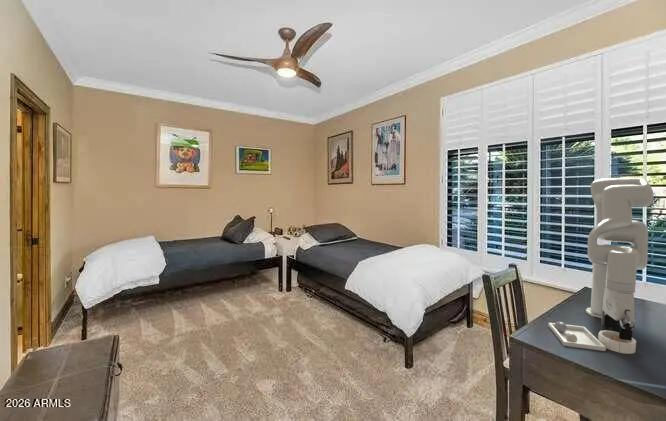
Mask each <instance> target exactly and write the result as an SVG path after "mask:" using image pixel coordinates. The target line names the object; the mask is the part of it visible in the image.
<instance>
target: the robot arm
mask: <svg viewBox="0 0 666 421" xmlns="http://www.w3.org/2000/svg"><path fill="white" fill-rule="evenodd" d="M590 194H591V197H592V201H593V203H594V206H595V208H596V225H595V226H594V227H593V228H592V230H591V231H590V232H589V234H588V237H587V258H588V260H589V262H590V263H592V264H591V265H592V278H591V295H590V307H587V308H586V309H585V312H586V314H587V315H588V316H590V317H595V318H599V319H600V320H602V311H604V315H606V316H605V317H604V326H605V327H614V328H615V326H616V320H619V321H620V325H621V327H620V330H619V338H620V339H621V340H629V341H631V340H632V338H633V330H634V329H635V324H636V323H637V320H636V318H635V293H636V285H637V284H636V281H637V271H638V270H640V271H641V270H644V269H646V267H647V265H648V256H649V255H648V252H649V251H648V249H649V248H648V247H649V244H648V243H649V240H648V239H649V232H648V227H647V225H646V224H645V222H643V221H640V220H633V210H632V207H634V208H638V207H639V208H640V207H641V208H647V207H650V206H651V205H652V204H653V202H654V190H653V188H652V186H651V184H650V183H649V181H647V179H645V178H643V177H624V178H620V177H619V178H618V177H617V178H616V177H615V178H614V177H613V178H609V177H608V178H600V179H596V180H594V181H592V182H591V183H590ZM598 239H599V240H601V241H604V242H615V243H624V244H625V243H628V244H630V245H620V244H609V243H608V244H607V243H601V244H600V243H598ZM622 318H625V319H622ZM624 322H626V324H625V325H624Z"/></svg>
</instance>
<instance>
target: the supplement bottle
mask: <svg viewBox="0 0 666 421" xmlns="http://www.w3.org/2000/svg"><path fill="white" fill-rule="evenodd" d="M605 316H606V315H604V311H602V319H600V322H601V323H600V324H601V325H600V331H604V330H607V331H615V332H619V330H620V327H621V325H620V321H619V320H616V326H615V328H614V327H605V326H604V317H605ZM622 319H625V318H622ZM626 323H627V322H624V325H625V324H626Z"/></svg>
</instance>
